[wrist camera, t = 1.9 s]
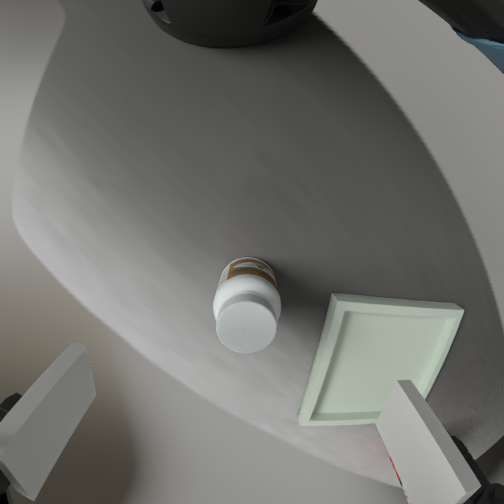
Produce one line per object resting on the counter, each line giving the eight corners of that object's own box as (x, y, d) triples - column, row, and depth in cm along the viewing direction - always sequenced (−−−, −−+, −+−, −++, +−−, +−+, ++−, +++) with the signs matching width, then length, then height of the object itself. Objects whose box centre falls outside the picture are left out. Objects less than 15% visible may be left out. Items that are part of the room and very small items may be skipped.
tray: (331, 292, 24) (337, 300, 22) (454, 303, 24) (464, 310, 23) (297, 413, 27) (299, 425, 26) (408, 408, 28) (414, 418, 26)
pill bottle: (283, 266, 23) (298, 307, 16) (263, 314, 24) (268, 369, 17) (230, 247, 23) (221, 281, 16) (213, 297, 24) (198, 347, 16)
